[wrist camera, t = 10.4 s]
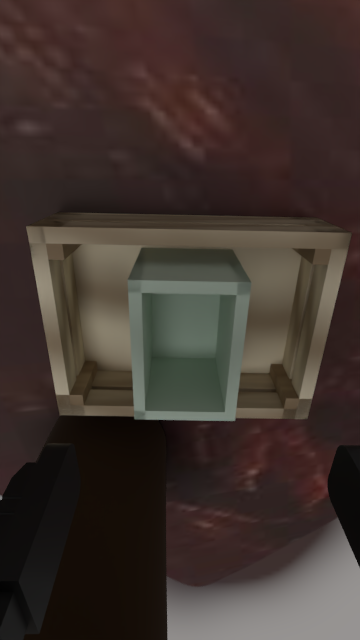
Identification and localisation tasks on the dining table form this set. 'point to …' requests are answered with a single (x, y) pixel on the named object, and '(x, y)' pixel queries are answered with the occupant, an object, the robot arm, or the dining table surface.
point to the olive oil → (112, 534)
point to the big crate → (192, 233)
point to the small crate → (187, 333)
